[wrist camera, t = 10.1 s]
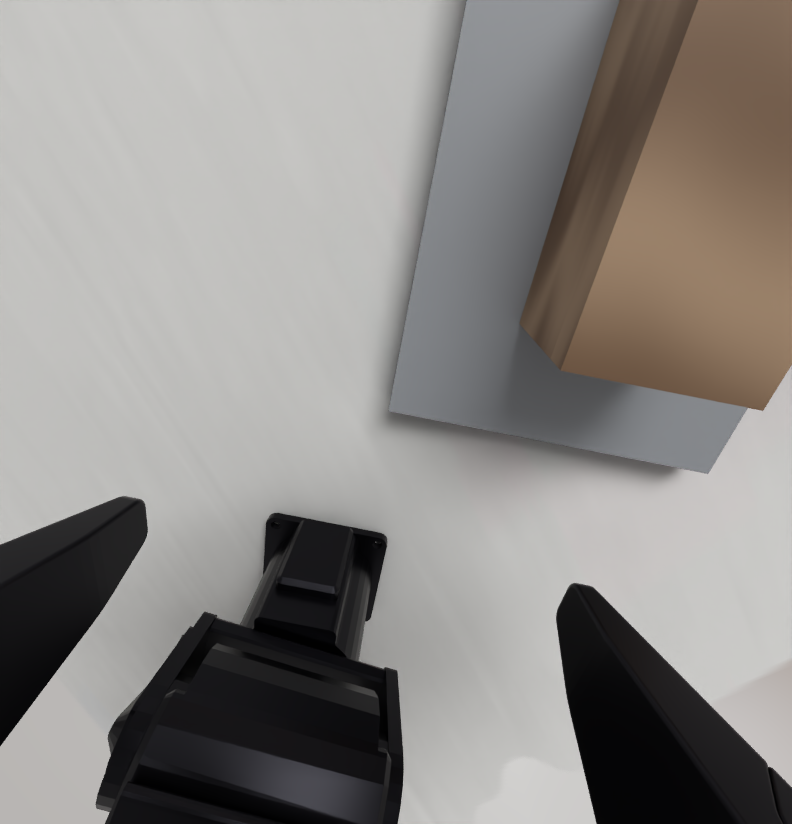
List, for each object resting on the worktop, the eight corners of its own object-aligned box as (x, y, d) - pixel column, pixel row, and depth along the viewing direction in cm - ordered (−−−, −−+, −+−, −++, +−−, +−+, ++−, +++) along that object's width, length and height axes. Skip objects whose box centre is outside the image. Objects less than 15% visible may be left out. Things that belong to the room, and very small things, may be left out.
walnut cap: (657, 351, 16) (763, 410, 11) (519, 323, 16) (560, 370, 11) (835, -28, 11) (1159, -228, 6) (640, -68, 11) (810, -301, 6)
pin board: (688, 456, 19) (768, 528, 15) (391, 397, 19) (379, 452, 15) (1056, -198, 11) (1517, -505, 6) (526, -309, 11) (598, -706, 6)
